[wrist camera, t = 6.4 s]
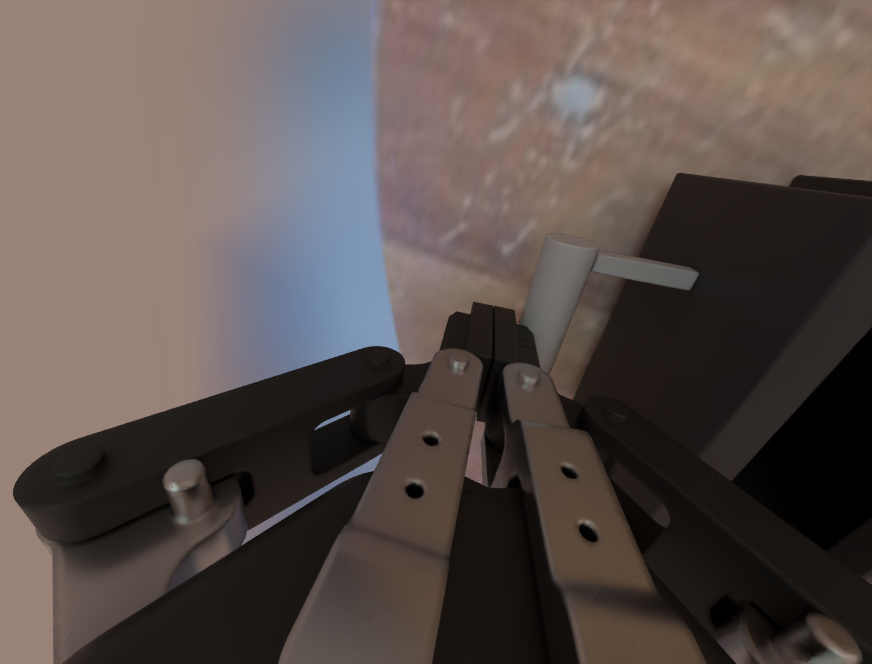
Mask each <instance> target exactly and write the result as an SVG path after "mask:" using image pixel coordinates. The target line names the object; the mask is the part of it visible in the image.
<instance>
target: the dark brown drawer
mask: <svg viewBox="0 0 872 664" xmlns="http://www.w3.org/2000/svg"><path fill="white" fill-rule="evenodd" d="M590 270H591V271H592V272H594V273H599V274H604V275H609V276H615V277H620V278H625V279H628V281H627V283H626V285H625V287H624V289H623V292H622V294H621V296H620V298H619V300H618V302H617V305H616V307H615V309H614V311H613V313H612V315H611V318H610V320H609V322H608V324H607V326H606V328H605V331H604V333H603V335H602V337H601V339H600V341H599V344H598V346H597V348H596V350H595V352H594V355H593V357H592V359H591V361H590V363H589V365H588V368H587V370H586V372H585V374H584V376H583V378H582V381H581V383H580V385H579V387H578V389H577V391H576V394H575V396H574V398H573V401H575V402H578V403H580V404H582V405H583V404H584V402H585V400H586V399H587V398H588V397H589V396H592V395H604V396H609V397H612V398H615V399H617V400H619V401H621V402H623V403H625V404H626V405H628V406H629V407H631V408H632V409H633V410H635V411H636V412H637V413H639V414H640V415H642V416H643V417H644V418H646V419H647V420H648V421H650V422H651V423H652V424H654V425H655V426H656V427H658V428H659V429H661V430H662V431H663V432H665V433H666V434H667V435H669V436H670V437H671V438H673V439H674V440H676V441H677V442H678V443H680V444H681V445H682V446H684V447H685V448H686V449H688V450H689V451H690V452H692V453H693V454H695V455H696V456H697V457H699V458H700V459H701V460H703V461H704V462H705V463H707V464H708V465H710V466H711V467H712V468H714V469H715V470H716V471H718V472H719V473H720V474H722V475H723V476H724V477H726V478H727V479H729V480H730V481H731V482H733V483H734V484H735V485H737V486H738V487H739V488H741V489H742V490H744V491H745V492H746V493H748V494H749V495H750V496H752V497H753V498H754V499H756V500H757V501H758V502H760V503H761V504H763V505H764V506H765V507H767V508H768V509H769V510H771V511H772V512H773V513H775V514H776V515H777V516H779V517H780V518H782V519H783V520H784V521H786V522H787V523H788V524H790V525H791V526H792V527H794V528H795V529H797V530H798V531H799V532H801V533H802V534H803V535H805V536H806V537H807V538H809V539H810V540H811V541H813V542H814V543H816V544H817V545H818V546H820V547H821V548H822V549H824V550H825V551H826V550H827V549H829V548H830V547H831V546H833V545H834V544H835V543H837V542H838V541H839V540H841V539H842V538H844V537H845V536H846V535H848V534H849V533H850V532H852V531H853V530H854V529H856V528H857V527H858V526H860V525H861V524H862V523H864V522H865V521H866V520H868V519H869V518H870V517H872V197H864V196H857V195H849V194H841V193H833V192H825V191H818V190H810V189H802V188H794V187H786V186H779V185H771V184H763V183H755V182H747V181H740V180H732V179H724V178H716V177H708V176H701V175H693V174H685V173H678V174H677V175H676V176H675V179H674V181H673V183H672V185H671V187H670V189H669V192H668V194H667V196H666V198H665V200H664V203H663V205H662V207H661V209H660V211H659V213H658V216H657V218H656V220H655V222H654V224H653V226H652V229H651V231H650V233H649V235H648V237H647V239H646V242H645V244H644V246H643V248H642V250H641V252H640V255H639V257H632V256H627V255H622V254H616V253H611V252H606V251H600V250H599V246H598V245H597V244H595V243H594V242H592V241H589V240H586V239H583V238H580V237H576V236H572V235H567V234H560V233H551V234H547V236H546V238H545V241H544V244H543V248H542V251H541V254H540V257H539V261H538V264H537V267H536V270H535V273H534V277H533V280H532V283H531V286H530V290H529V293H528V296H527V299H526V302H525V306H524V309H523V312H522V315H521V319H520V322H519V325H524V326H527V327H528V329H529V330H530V331H531V332H532V333H533V334H534V339H535V344H536V351H537V353H538V358H539V363H540V368H541V370H543V371H544V372H546V373H547V374H548V375H549V374H550V371H551V369H552V366H553V364H554V361H555V359H556V356H557V354H558V351H559V349H560V346H561V344H562V341H563V339H564V336H565V333H566V331H567V328H568V326H569V323H570V321H571V318H572V316H573V313H574V311H575V308H576V306H577V303H578V301H579V298H580V296H581V293H582V291H583V288H584V286H585V283H586V280H587V278H588V275H589V273H590ZM612 480H613V481H614V482H615V483H616V484H617V485H618V486H619V487H620V488H621V489H622V490H623V491H624V492H625V493H626V494H628V495H629V496H630V497H631V498H632V499H633V500H634V501H635V502H636V503H637V504H638V505H639V506H640V507H641V508H642V509H643V510H644V511H645V512H646V513H647V514H649V515H650V516H651V517H652V518H653V519H654V520H655V521H656V522H657V523H658V524H660V525H661V526H663V527H665V528H666V527H667V526H668V525H669V522H670V517H669V513H668V511H667V509H666V507H665V506H664V504H663V503H662V502H661V501H660V500H659V499H658V498H657V497H655V496H654V495H653V494H652V493H651V492H650V491H649V490H648V489H647V488H645V487H644V486H643V485H642V484H641V483H640V482H639V481H638V480H636V479H635V478H634V477H633V476H632V475H631V474H630V473H629V472H628V471H626V470H625V469H624V468H623V467H622V466H621V465H620V466H619V468H618V470H617V471H616V473H615V474H614V476H613V477H612Z"/></svg>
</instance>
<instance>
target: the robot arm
mask: <svg viewBox="0 0 872 664" xmlns="http://www.w3.org/2000/svg"><path fill="white" fill-rule="evenodd" d="M349 410H350V414H349V415H347V416H345V417H343V418H341V419H338V420H336V421H334V422H332V423H330V424H327V425H325V426H323V427H321V428H318V429H317V430H315V428H316V427H317V426H318V425H320V424H321V423H322V422H324V421H326V420H328V419H330V418H333V417H335V416H337V415H339V414H342V413H344V412H346V411H349ZM476 413H477V420H476V421H481V422H485V430H484V433H483V437H482V440H481V456H482V477H483V485H482V484H480V483H478V482H476V481H473V480H471V479H469V478H467V477H465V471H466V466H467V460H468V455H469V449H470V444H471V439H472V433H473V428H474V423H475V417H476ZM382 453H383V454H382ZM380 454H382V456H381V458H380V460H379V462H378V464H377V466H376V469H375V470H374V471H372V472H368V473H364V474H361V475H358V476H355V477H353V478H350V479H348V480H346V481H344V482H342V483H340V484H339V485H337V486H335V487H334V488H332V489H331V490H329V491H327V492H326V493H324V494H323V495H321V496H319V497H318V498H316V499H315V500H313V501H311V502H310V503H308V504H307V505H305V506H304V507H302V508H300V509H299V510H297V511H296V512H294V513H292V514H291V515H289V516H288V517H286V518H285V519H283V520H281V521H280V522H278V523H277V524H275V525H273V526H272V527H270V528H269V529H267V530H265V531H264V532H262V533H261V534H259V535H258V536H256V537H255V538H253V539H251V540H250V541H248V542H246V543H245V544H244V545H242V543H243V541H244V539H245V537H246V533H247V531H248V530H250V529H252V528H253V527H255V526H257V525H259V524H260V523H262V522H264V521H265V520H267V519H269V518H271V517H272V516H274V515H276V514H278V513H279V512H281V511H283V510H284V509H286V508H288V507H290V506H292V505H293V504H295V503H297V502H298V501H300V500H302V499H304V498H305V497H307V496H309V495H311V494H312V493H314V492H316V491H317V490H319V489H321V488H323V487H324V486H326V485H328V484H330V483H331V482H333V481H335V480H337V479H338V478H340V477H342V476H344V475H345V474H347V473H349V472H350V471H352V470H354V469H356V468H357V467H359V466H361V465H363V464H364V463H366V462H368V461H369V460H371V459H373V458H375V457H376V456H378V455H380ZM620 465H621V466H622V467H623V468H624V469H625V470H626V471H628V472H629V473H630V474H631V475H632V476H633V477H634V478H635V479H636V480H638V481H639V482H640V483H641V484H642V485H643V486H644V487H645V488H647V489H648V490H649V491H650V492H651V493H652V494H653V495H654V496H655V497H657V498H658V499H659V500H660V501H661V502H662V503H663V504H664V506H665V507H666V509H667V511H668V513H669V517H670V522H669V525H668V526H667V527H666V528H665V527H663V526H661V525H660V524H658V523H657V522H656V521H655V520H654V519H653V518H652V517H651V516H650V515H649V514H647V513H646V512H645V511H644V510H643V509H642V508H641V507H640V506H639V505H638V504H637V503H636V502H635V501H634V500H633V499H632V498H631V497H630V496H629V495H628V494H626V493H625V492H624V491H623V490H622V489H621V488H620V487H619V486H618V485H617V484H616V483H615V482H614V481H613V480H612V477H613V476H614V474H615V473H616V471H617V470H618V468H619V466H620ZM13 496H14V499H15V501H16V502H17V503H18V505H19V506H20V507H21V509H22V510H23V511H24V513H25V514H26V515H27V517H28V518H29V519H30V521H31V522H32V523H33V525H34V526H35V527H36V533H37V536H38V538H39V539H40V540H41V542H42V543H43V544H44V546H45V547H46V548H47V549H48V551H49V552H50V553H51V555H52V556H53V558H52V559H53V650H54V651H53V654H54V655H53V656H54V657H53V658H54V664H872V585H871V584H870V583H869V582H867V581H866V580H865V579H863V578H862V577H860V576H859V575H858V574H856V573H855V572H854V571H852V570H851V569H850V568H848V567H847V566H845V565H844V564H843V563H841V562H840V561H839V560H837V559H836V558H835V557H833V556H832V555H831V554H829V553H828V552H826V551H825V550H824V549H822V548H821V547H820V546H818V545H817V544H816V543H814V542H813V541H811V540H810V539H809V538H807V537H806V536H805V535H803V534H802V533H801V532H799V531H798V530H797V529H795V528H794V527H792V526H791V525H790V524H788V523H787V522H786V521H784V520H783V519H782V518H780V517H779V516H777V515H776V514H775V513H773V512H772V511H771V510H769V509H768V508H767V507H765V506H764V505H763V504H761V503H760V502H758V501H757V500H756V499H754V498H753V497H752V496H750V495H749V494H748V493H746V492H745V491H744V490H742V489H741V488H739V487H738V486H737V485H735V484H734V483H733V482H731V481H730V480H729V479H727V478H726V477H724V476H723V475H722V474H720V473H719V472H718V471H716V470H715V469H714V468H712V467H711V466H710V465H708V464H707V463H705V462H704V461H703V460H701V459H700V458H699V457H697V456H696V455H695V454H693V453H692V452H690V451H689V450H688V449H686V448H685V447H684V446H682V445H681V444H680V443H678V442H677V441H676V440H674V439H673V438H671V437H670V436H669V435H667V434H666V433H665V432H663V431H662V430H661V429H659V428H658V427H656V426H655V425H654V424H652V423H651V422H650V421H648V420H647V419H646V418H644V417H643V416H642V415H640V414H639V413H637V412H636V411H635V410H633V409H632V408H631V407H629V406H628V405H626V404H625V403H623V402H621V401H619V400H617V399H615V398H612V397H609V396H604V395H592V396H589V397H588V398H587V399H586V400H585V402H584V404H583V405H582V404H580V403H578V402H575V401H573V400H571V399H568V398H566V397H564V396H562V395H560V394H558V393H557V390H556V388H555V385H554V382H553V380H552V378H551V377H550V376H549V375H548V374H547V373H546V372H544V371H543V370H541V368H540V363H539V358H538V353H537V351H536V344H535V339H534V334H533V333H532V332H531V331H530V330H529V329H528V327H527V326H524V325H519V324H516V318H515V311H514V310H512V309H507V308H502V307H497V306H494V308H493V306H492V305H487V304H482V303H478V302H473V305H472V309H471V313H470V314H466V313H461V312H457V311H456V312H455V313H453V314H452V315H451V316H449V318H448V322H447V326H446V329H445V333H444V336H443V340H442V344H441V347H440V351H438V352H437V353H436V354H435V355H434V357H433V359H432V361H431V362H428V363H424V364H415V365H412V364H405V360H404V358H403V356H402V355H401V354H400V353H399V352H397V351H395V350H393V349H391V348H387V347H382V346H371V347H366V348H363V349H359V350H356V351H353V352H350V353H346V354H344V355H340V356H337V357H334V358H331V359H328V360H324V361H321V362H319V363H315V364H312V365H309V366H306V367H303V368H299V369H296V370H293V371H290V372H287V373H283V374H281V375H277V376H274V377H271V378H268V379H264V380H261V381H259V382H255V383H252V384H249V385H246V386H242V387H239V388H236V389H233V390H230V391H227V392H223V393H220V394H217V395H214V396H211V397H208V398H205V399H201V400H198V401H195V402H192V403H189V404H186V405H182V406H180V407H176V408H173V409H170V410H167V411H164V412H161V413H158V414H154V415H151V416H148V417H145V418H142V419H138V420H135V421H132V422H129V423H126V424H123V425H119V426H116V427H113V428H110V429H107V430H104V431H101V432H98V433H94V434H91V435H88V436H85V437H82V438H79V439H76V440H73V441H70V442H68V443H66V444H63V445H61V446H59V447H57V448H55V449H53V450H51V451H50V452H48V453H46V454H45V455H43V456H41V457H40V458H39V459H37V460H36V461H35V462H33V463H32V464H31V465H30V466H29V467H28V468H26V470H25V471H24V472H23V473H22V474H21V475H20V477H19V478H18V480H17V481H16V483H15V486H14V489H13ZM241 545H242V546H241Z"/></svg>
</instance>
